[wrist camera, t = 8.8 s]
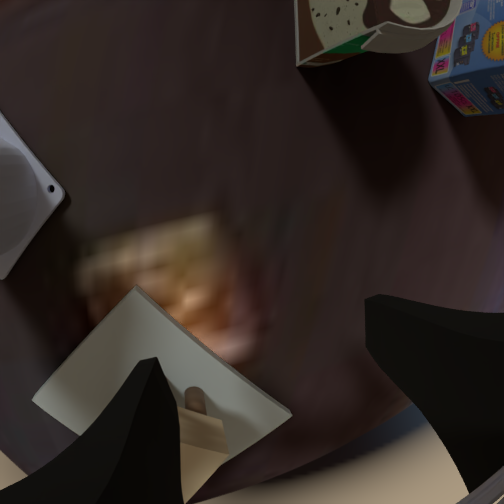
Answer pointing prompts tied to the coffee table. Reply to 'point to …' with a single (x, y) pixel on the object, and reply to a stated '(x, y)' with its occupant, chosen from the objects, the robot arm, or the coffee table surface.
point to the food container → (367, 27)
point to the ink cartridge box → (472, 59)
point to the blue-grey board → (173, 365)
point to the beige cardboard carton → (199, 442)
